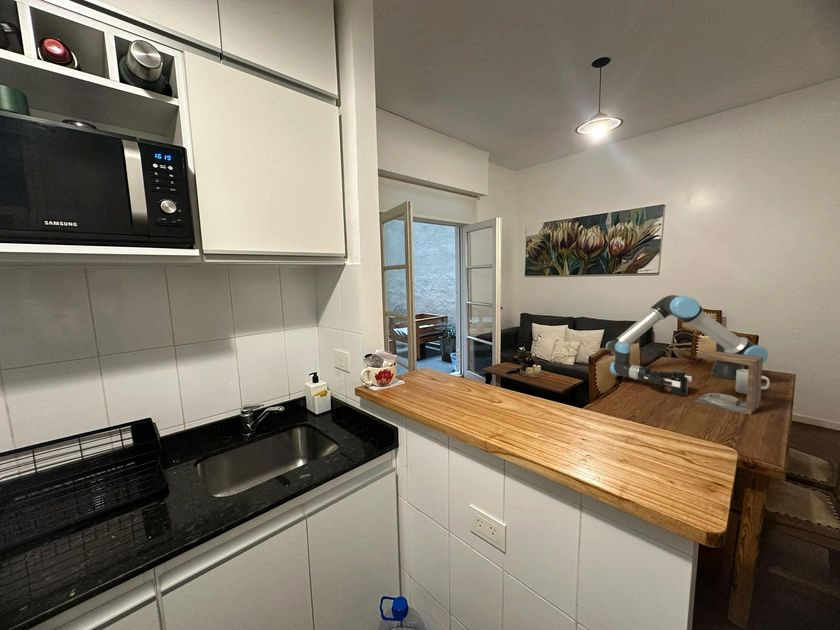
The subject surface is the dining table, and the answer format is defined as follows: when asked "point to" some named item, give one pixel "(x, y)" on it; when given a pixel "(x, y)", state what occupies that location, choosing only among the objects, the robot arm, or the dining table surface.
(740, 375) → the mug
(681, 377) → the supplement bottle
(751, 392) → the awning stand
